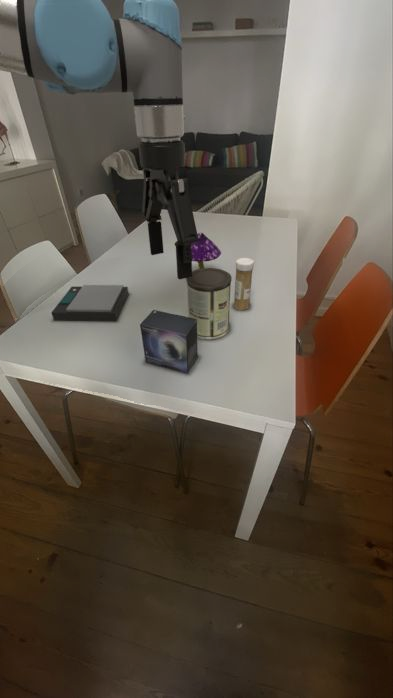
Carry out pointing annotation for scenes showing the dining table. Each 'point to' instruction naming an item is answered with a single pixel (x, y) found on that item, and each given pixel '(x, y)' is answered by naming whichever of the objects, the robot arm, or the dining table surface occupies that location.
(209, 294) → the coffee can
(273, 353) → the dining table surface
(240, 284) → the sprinkles bottle
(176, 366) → the small box
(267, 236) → the dining table surface
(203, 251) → the decorative mushroom
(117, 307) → the scale
